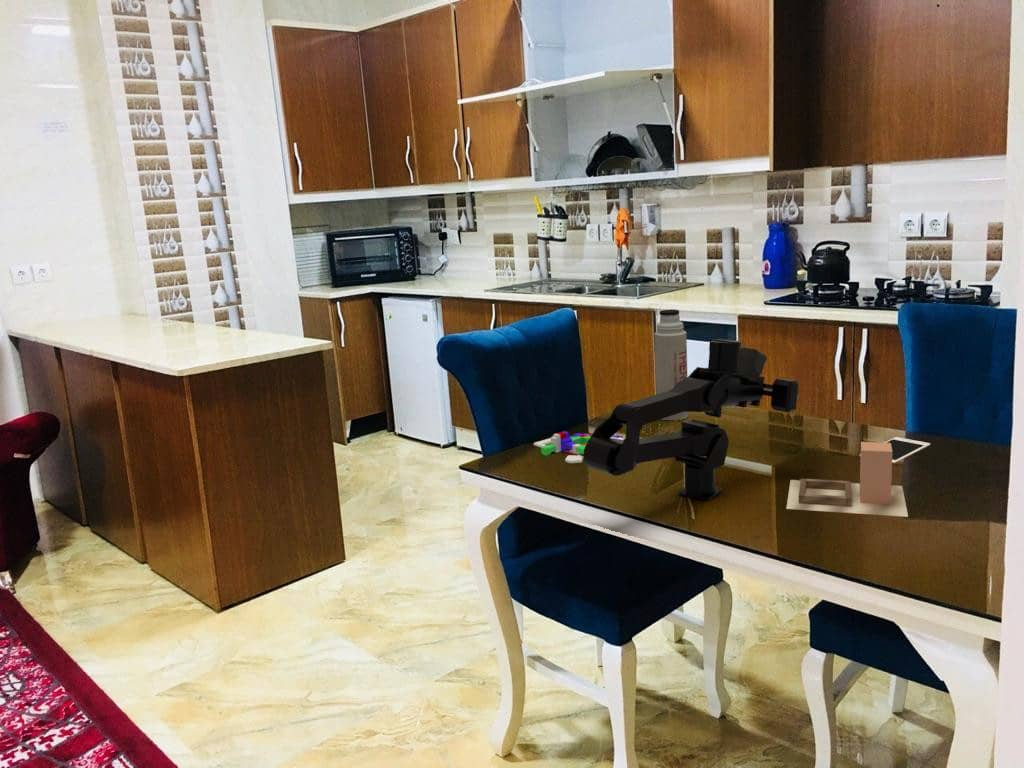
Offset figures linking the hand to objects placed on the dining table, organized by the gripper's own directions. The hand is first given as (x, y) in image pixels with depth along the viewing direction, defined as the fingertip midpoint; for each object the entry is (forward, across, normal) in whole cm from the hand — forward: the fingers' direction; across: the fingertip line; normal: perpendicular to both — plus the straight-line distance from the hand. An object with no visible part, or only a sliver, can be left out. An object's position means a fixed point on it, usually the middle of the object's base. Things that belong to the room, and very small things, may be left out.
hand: (779, 388), depth 175 cm
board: (-8, -22, +18) cm, 30 cm away
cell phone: (+24, -14, +13) cm, 31 cm away
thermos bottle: (+13, +40, +14) cm, 45 cm away
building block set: (-18, +37, +20) cm, 46 cm away
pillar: (-6, -26, +16) cm, 32 cm away
